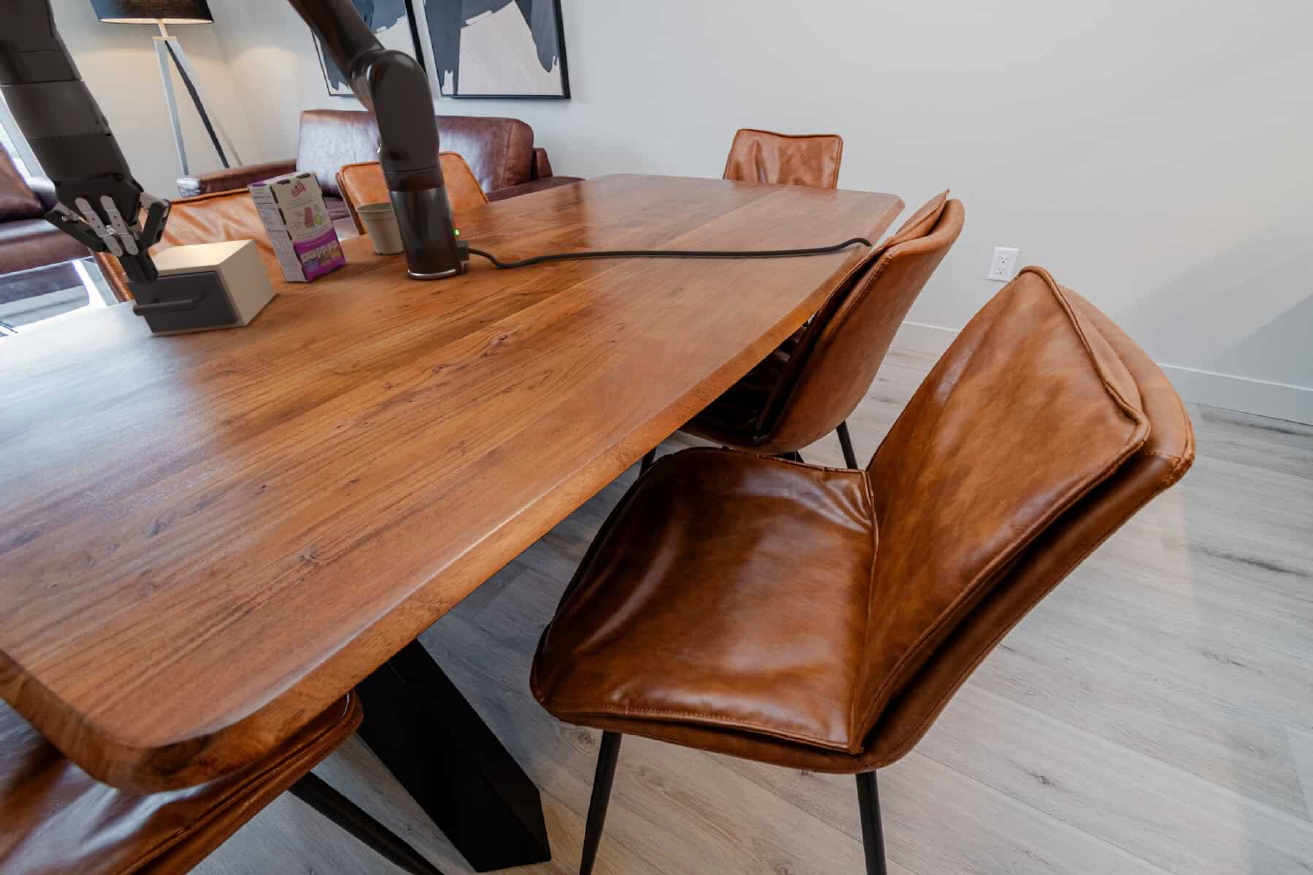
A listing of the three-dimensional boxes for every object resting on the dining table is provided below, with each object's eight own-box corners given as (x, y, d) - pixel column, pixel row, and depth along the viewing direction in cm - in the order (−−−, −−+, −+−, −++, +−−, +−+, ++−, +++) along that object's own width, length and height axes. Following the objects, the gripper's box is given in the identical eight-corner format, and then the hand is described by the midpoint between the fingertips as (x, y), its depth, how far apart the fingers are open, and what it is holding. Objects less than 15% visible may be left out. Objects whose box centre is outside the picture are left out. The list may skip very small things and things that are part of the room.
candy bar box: (324, 264, 115) (292, 171, 106) (347, 264, 114) (317, 171, 105) (283, 282, 106) (244, 183, 97) (307, 283, 105) (270, 183, 96)
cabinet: (245, 325, 88) (218, 264, 83) (154, 336, 86) (121, 274, 81) (275, 294, 100) (253, 238, 95) (196, 303, 98) (169, 247, 93)
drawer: (223, 336, 82) (199, 284, 78) (135, 346, 81) (105, 294, 77) (265, 294, 98) (247, 248, 94) (192, 302, 96) (170, 256, 92)
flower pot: (406, 242, 126) (395, 199, 122) (425, 249, 120) (414, 204, 116) (361, 252, 121) (347, 207, 116) (379, 260, 115) (365, 213, 110)
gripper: (-26, 139, 62) (71, 299, 72) (116, 128, 64) (192, 285, 74) (21, 132, 68) (105, 280, 78) (149, 122, 70) (216, 268, 80)
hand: (147, 282), depth 76 cm, fingers closed
